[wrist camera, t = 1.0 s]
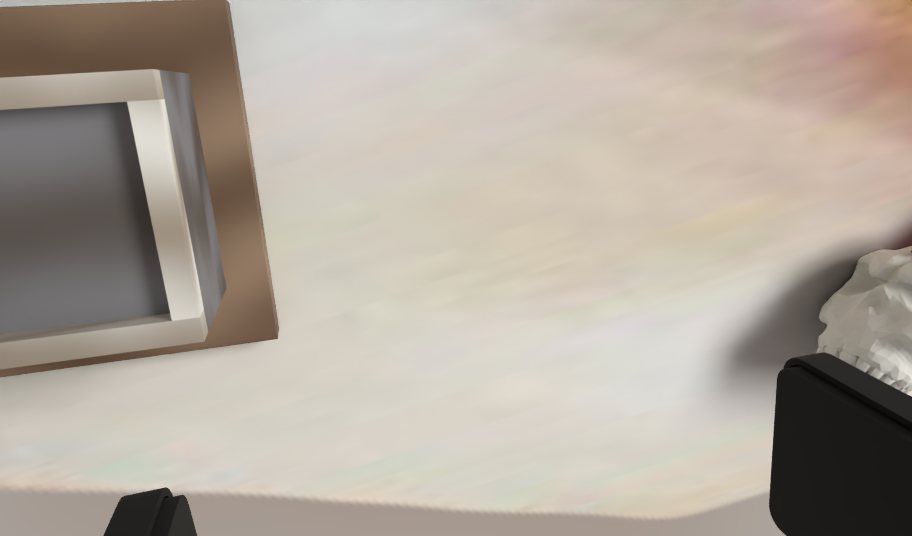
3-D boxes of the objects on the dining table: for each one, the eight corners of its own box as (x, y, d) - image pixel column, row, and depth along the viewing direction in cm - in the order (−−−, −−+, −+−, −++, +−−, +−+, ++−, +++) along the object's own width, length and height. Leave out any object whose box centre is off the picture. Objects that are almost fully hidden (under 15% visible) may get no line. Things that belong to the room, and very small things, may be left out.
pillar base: (-123, 16, 26) (-311, -15, 18) (229, 3, 29) (198, -30, 21) (-17, 368, 31) (-131, 466, 23) (278, 328, 34) (269, 403, 26)
